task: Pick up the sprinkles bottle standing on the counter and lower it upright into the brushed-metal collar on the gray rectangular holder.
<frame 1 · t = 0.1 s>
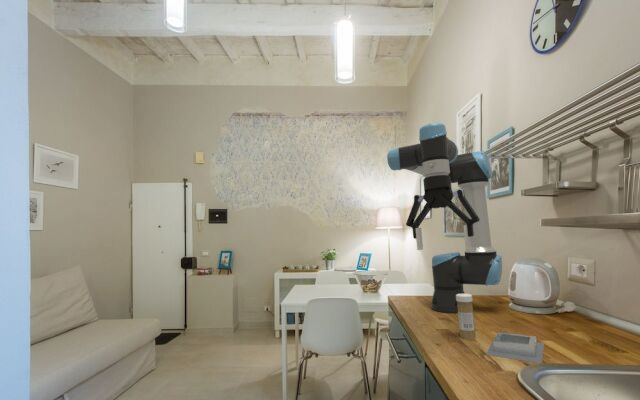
hand: (443, 249, 93), 28 cm above the counter, tool pointing down, fingers open, 13 cm apart
metal collar: (515, 348, 86), resting on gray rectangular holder
sprinkles bottle: (468, 340, 98), on the counter
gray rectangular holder: (516, 352, 86), on the counter
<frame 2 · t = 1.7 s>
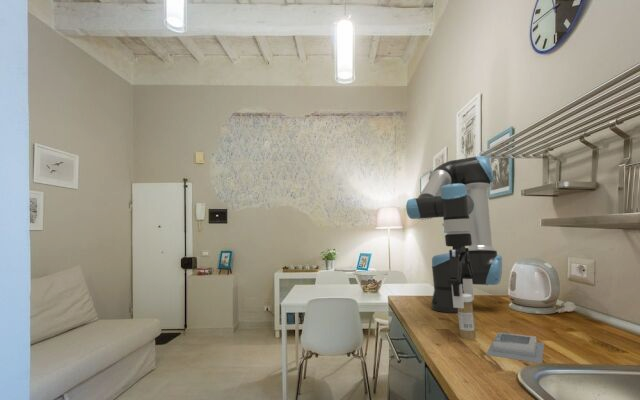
hand: (464, 303, 99), 11 cm above the counter, tool pointing down, fingers open, 13 cm apart
nothing on the counter moved.
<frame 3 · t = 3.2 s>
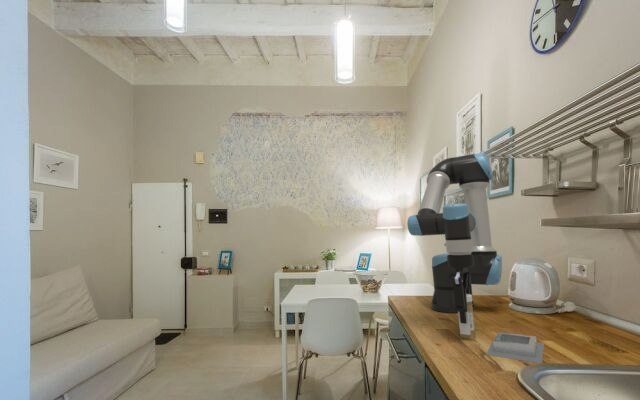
hand: (467, 331, 98), 2 cm above the counter, tool pointing down, fingers closed on sprinkles bottle, 4 cm apart
sprinkles bottle: (468, 340, 98), on the counter, touching gripper
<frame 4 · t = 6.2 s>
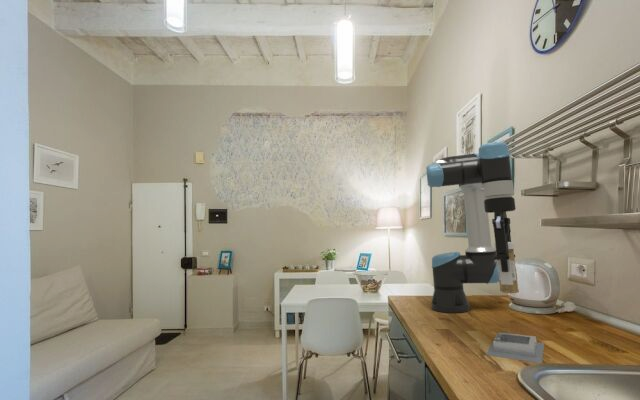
hand: (508, 282, 88), 18 cm above the counter, tool pointing down, fingers closed on sprinkles bottle, 4 cm apart
sprinkles bottle: (509, 292, 88), point 16 cm above the counter, touching gripper
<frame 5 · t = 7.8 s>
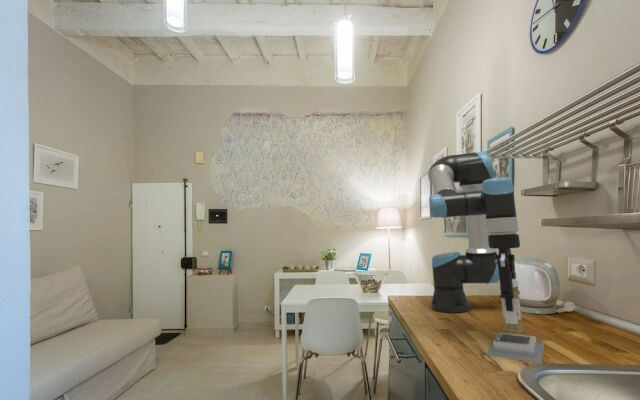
hand: (512, 320, 87), 8 cm above the counter, tool pointing down, fingers closed on sprinkles bottle, 4 cm apart
sprinkles bottle: (513, 331, 87), point 6 cm above the counter, touching gripper
when the fingers open (5 cm above the counter, at t = 9.2 s): sprinkles bottle drops 1 cm, resting on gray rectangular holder.
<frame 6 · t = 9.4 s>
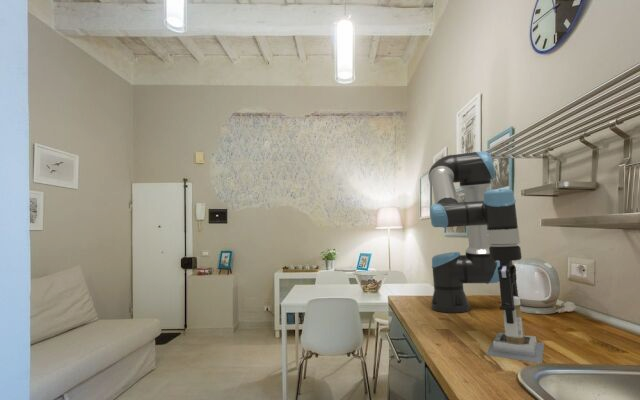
hand: (513, 331, 87), 5 cm above the counter, tool pointing down, fingers open, 7 cm apart
sprinkles bottle: (515, 349, 86), point 1 cm above the counter, touching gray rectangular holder
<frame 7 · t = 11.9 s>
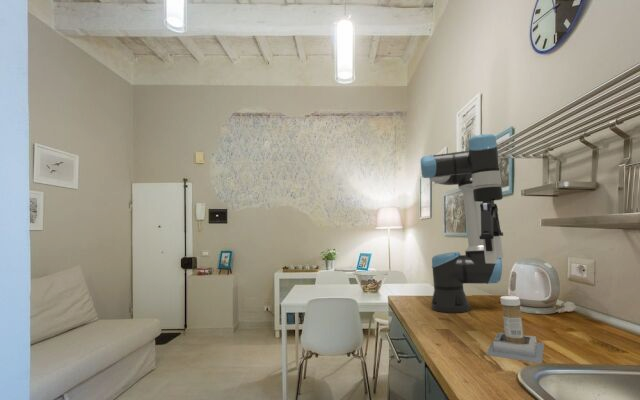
hand: (494, 260, 94), 24 cm above the counter, tool pointing down, fingers open, 13 cm apart
nothing on the counter moved.
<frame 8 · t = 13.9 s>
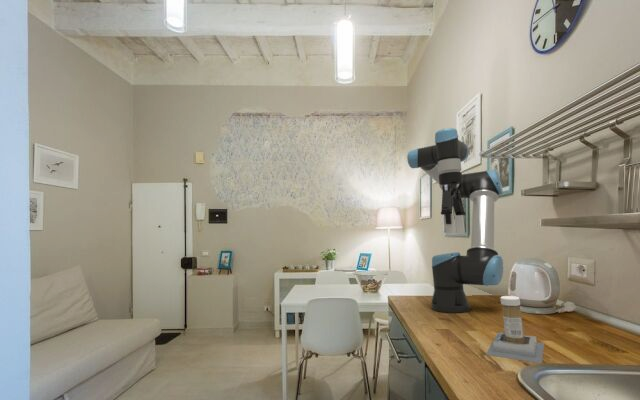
hand: (455, 234, 111), 32 cm above the counter, tool pointing down, fingers open, 13 cm apart
nothing on the counter moved.
at the end: sprinkles bottle 0.1 cm off-centre on the metal collar, point 0.0 cm above the metal collar's base; sprinkles bottle tilted 0°; the gripper is holding nothing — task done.
